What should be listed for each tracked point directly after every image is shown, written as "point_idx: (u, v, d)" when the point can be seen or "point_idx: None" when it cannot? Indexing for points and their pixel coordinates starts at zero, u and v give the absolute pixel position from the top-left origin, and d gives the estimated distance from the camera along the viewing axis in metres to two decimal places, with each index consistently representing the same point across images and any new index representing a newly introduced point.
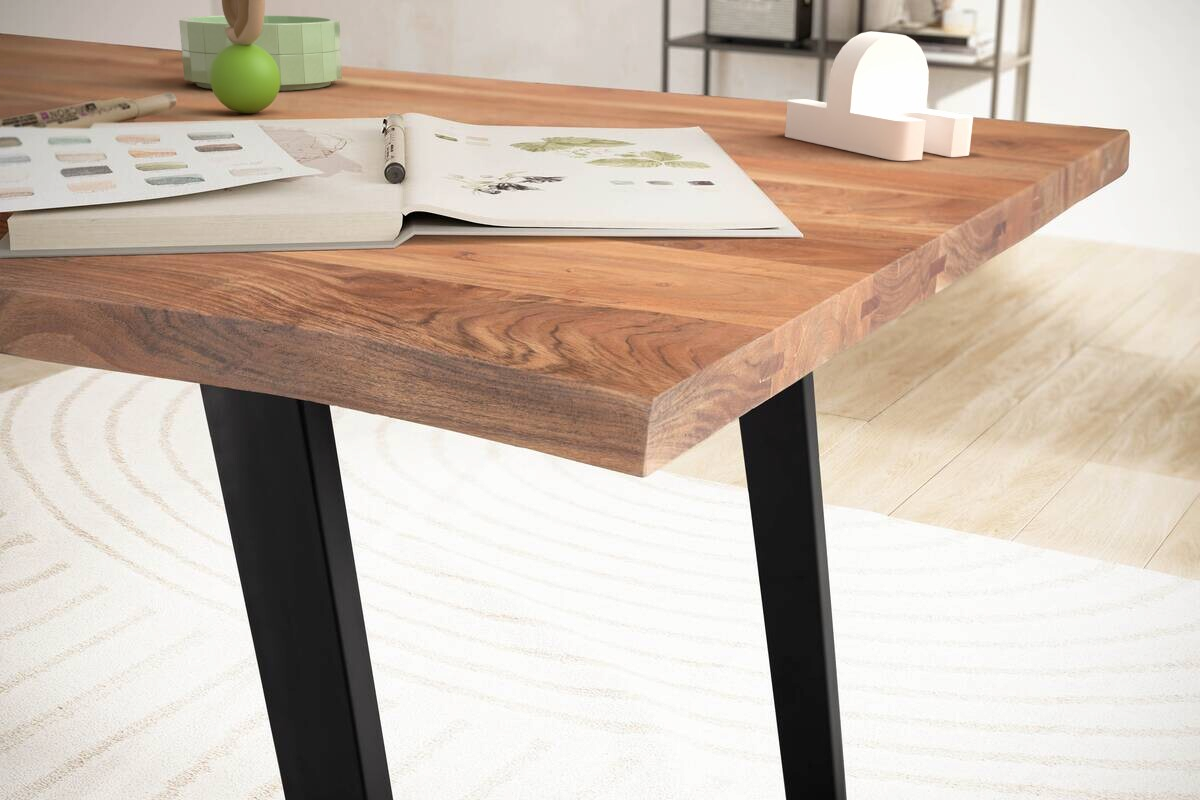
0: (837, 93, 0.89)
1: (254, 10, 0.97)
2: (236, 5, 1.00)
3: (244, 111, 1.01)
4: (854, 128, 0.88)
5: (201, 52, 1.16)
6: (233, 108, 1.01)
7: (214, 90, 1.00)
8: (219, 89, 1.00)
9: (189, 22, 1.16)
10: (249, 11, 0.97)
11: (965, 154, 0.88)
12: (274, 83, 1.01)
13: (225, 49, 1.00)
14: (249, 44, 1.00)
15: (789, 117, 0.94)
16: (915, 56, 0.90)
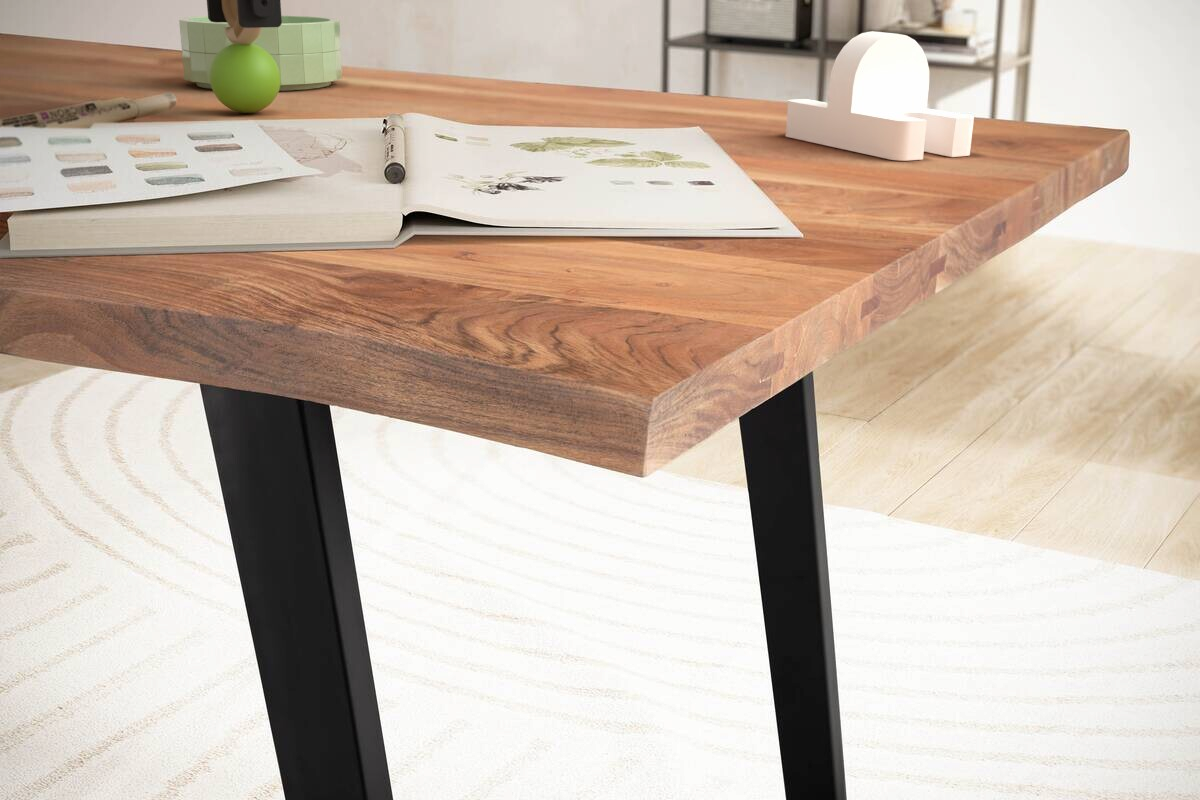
0: (838, 93, 0.89)
1: None
2: (236, 5, 1.00)
3: (245, 111, 1.01)
4: (855, 128, 0.88)
5: (201, 52, 1.16)
6: (233, 108, 1.01)
7: (214, 90, 1.00)
8: (219, 89, 1.00)
9: (189, 22, 1.16)
10: None
11: (966, 154, 0.88)
12: (274, 82, 1.01)
13: (225, 49, 1.00)
14: (249, 43, 1.00)
15: (790, 117, 0.94)
16: (916, 56, 0.90)
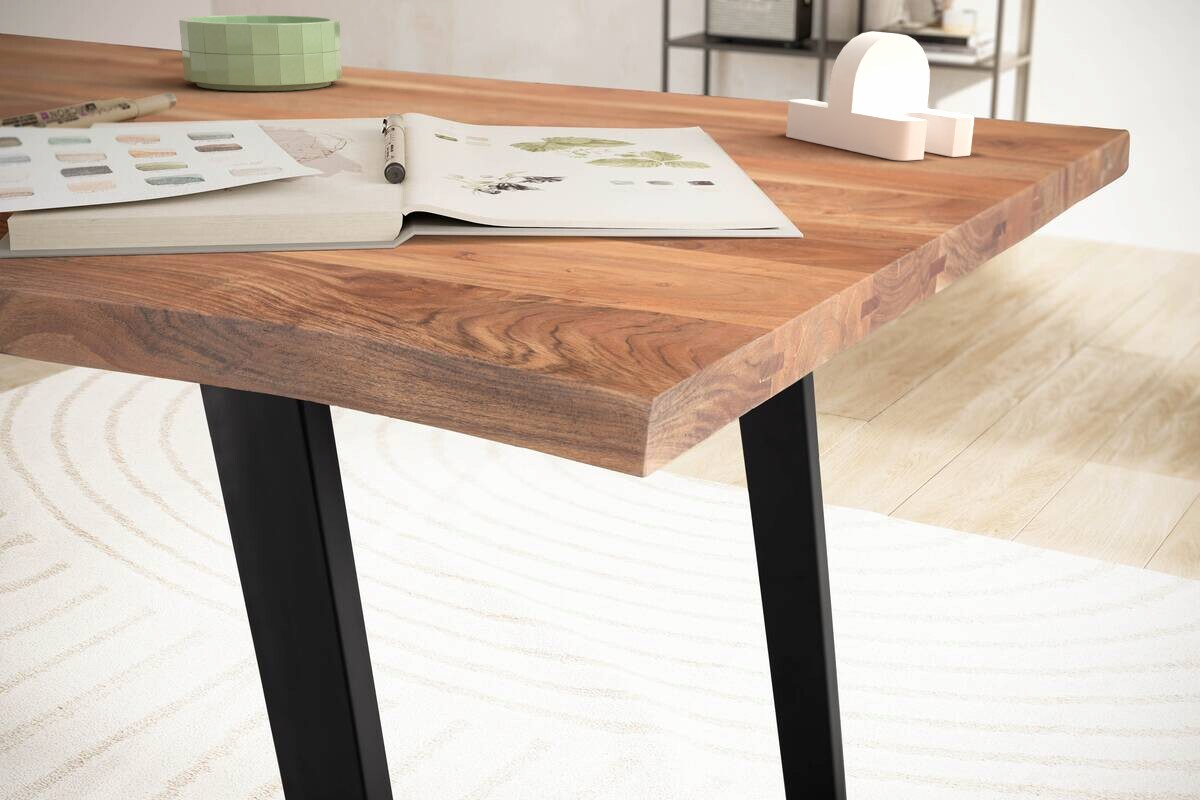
0: (839, 93, 0.89)
1: None
2: None
3: None
4: (856, 128, 0.88)
5: (201, 52, 1.16)
6: None
7: None
8: None
9: (189, 22, 1.16)
10: None
11: (966, 154, 0.88)
12: None
13: None
14: None
15: (790, 117, 0.94)
16: (916, 56, 0.90)
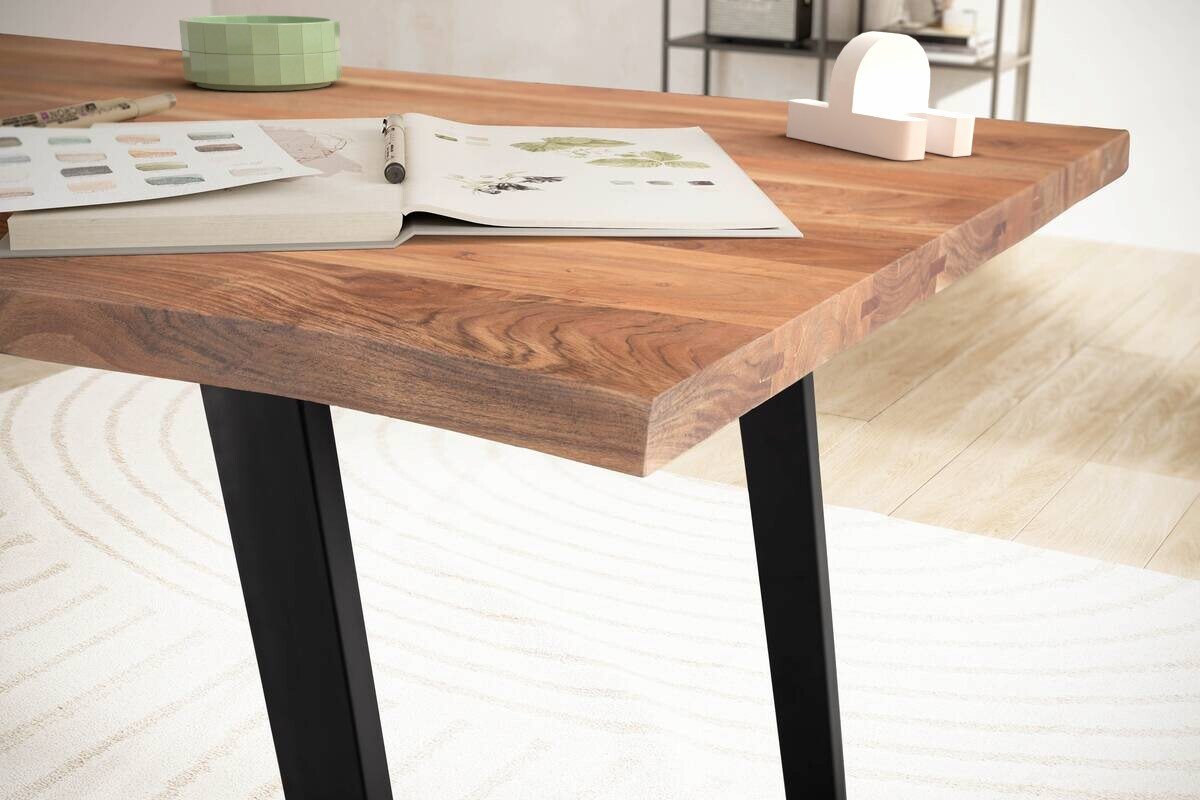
0: (839, 93, 0.89)
1: None
2: None
3: None
4: (857, 128, 0.88)
5: (201, 52, 1.16)
6: None
7: None
8: None
9: (189, 22, 1.16)
10: None
11: (967, 154, 0.88)
12: None
13: None
14: None
15: (791, 117, 0.94)
16: (917, 56, 0.90)
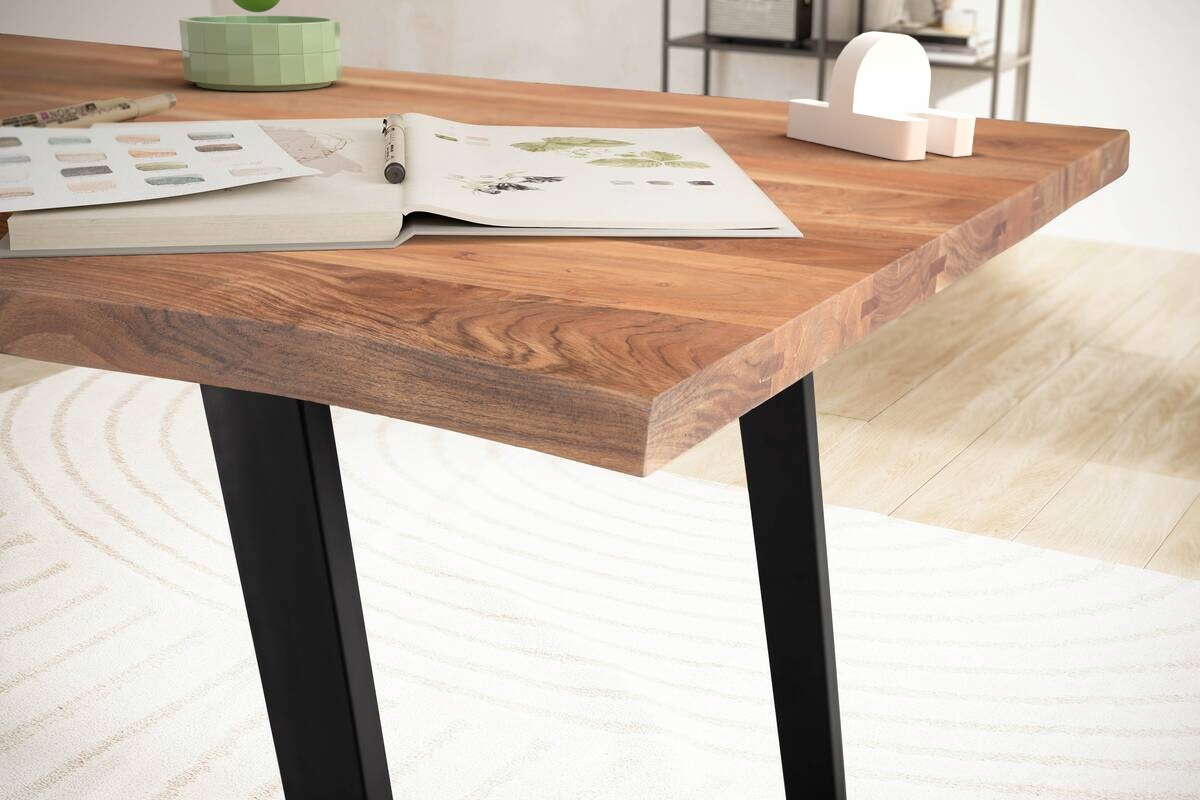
0: (840, 93, 0.89)
1: None
2: None
3: (254, 9, 1.20)
4: (857, 128, 0.88)
5: (201, 52, 1.16)
6: (245, 6, 1.20)
7: None
8: None
9: (189, 22, 1.16)
10: None
11: (967, 154, 0.88)
12: None
13: None
14: None
15: (791, 117, 0.94)
16: (917, 56, 0.90)
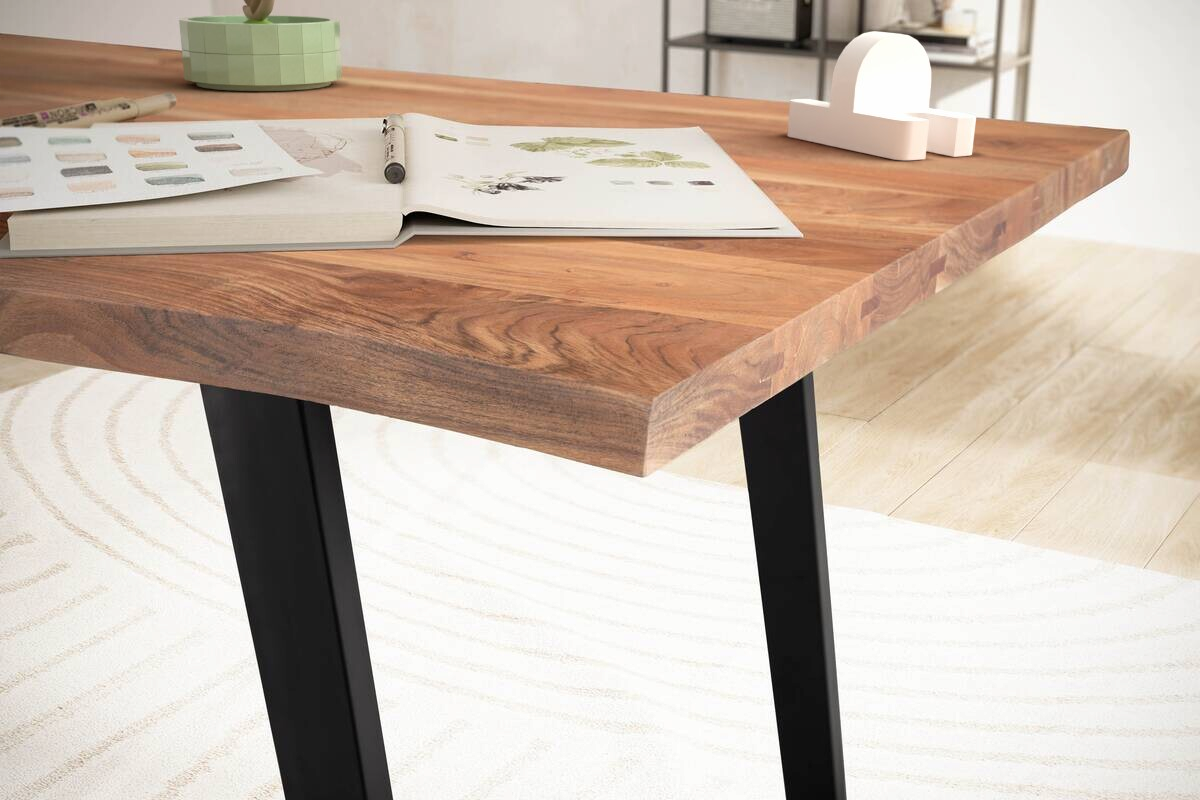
0: (841, 93, 0.89)
1: None
2: None
3: None
4: (858, 127, 0.88)
5: (201, 52, 1.16)
6: None
7: None
8: None
9: (189, 22, 1.16)
10: None
11: (968, 154, 0.88)
12: None
13: None
14: (262, 19, 1.21)
15: (792, 117, 0.94)
16: (918, 56, 0.90)
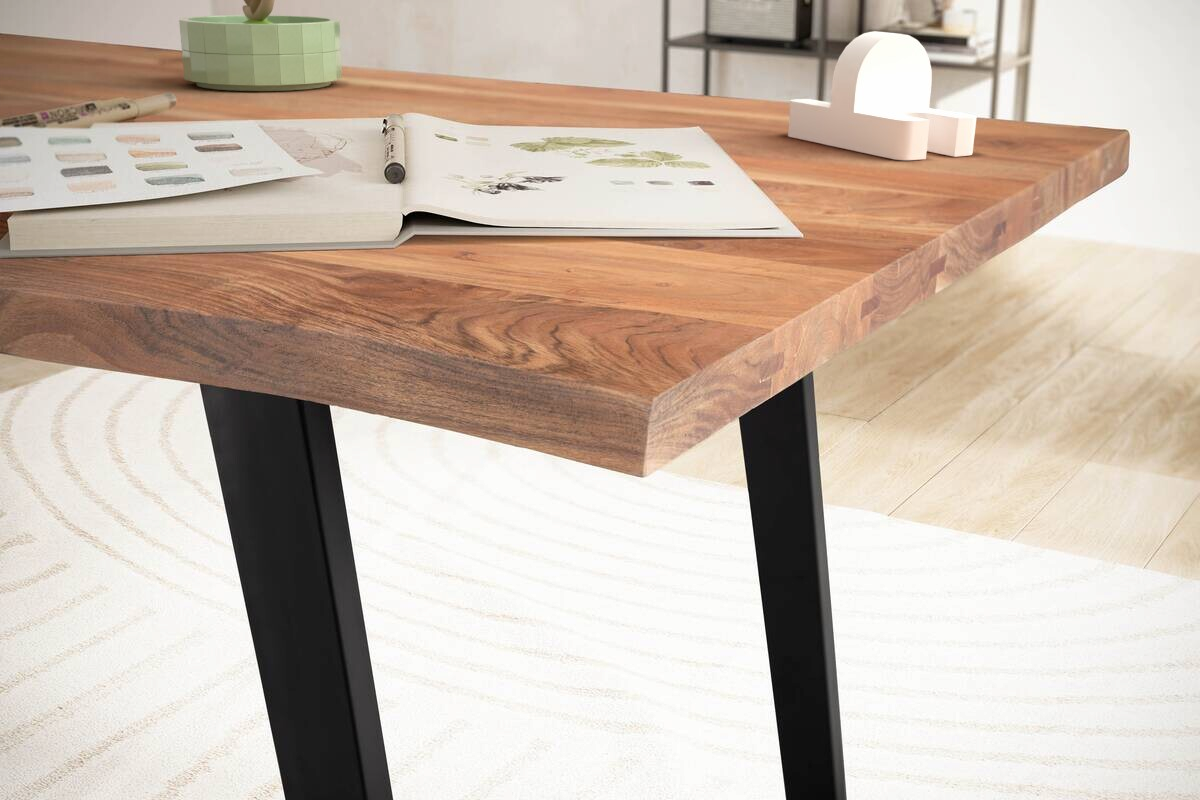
0: (841, 93, 0.89)
1: None
2: None
3: None
4: (858, 128, 0.88)
5: (201, 52, 1.16)
6: None
7: None
8: None
9: (189, 22, 1.16)
10: None
11: (968, 153, 0.88)
12: None
13: None
14: (262, 19, 1.21)
15: (792, 117, 0.94)
16: (918, 56, 0.90)
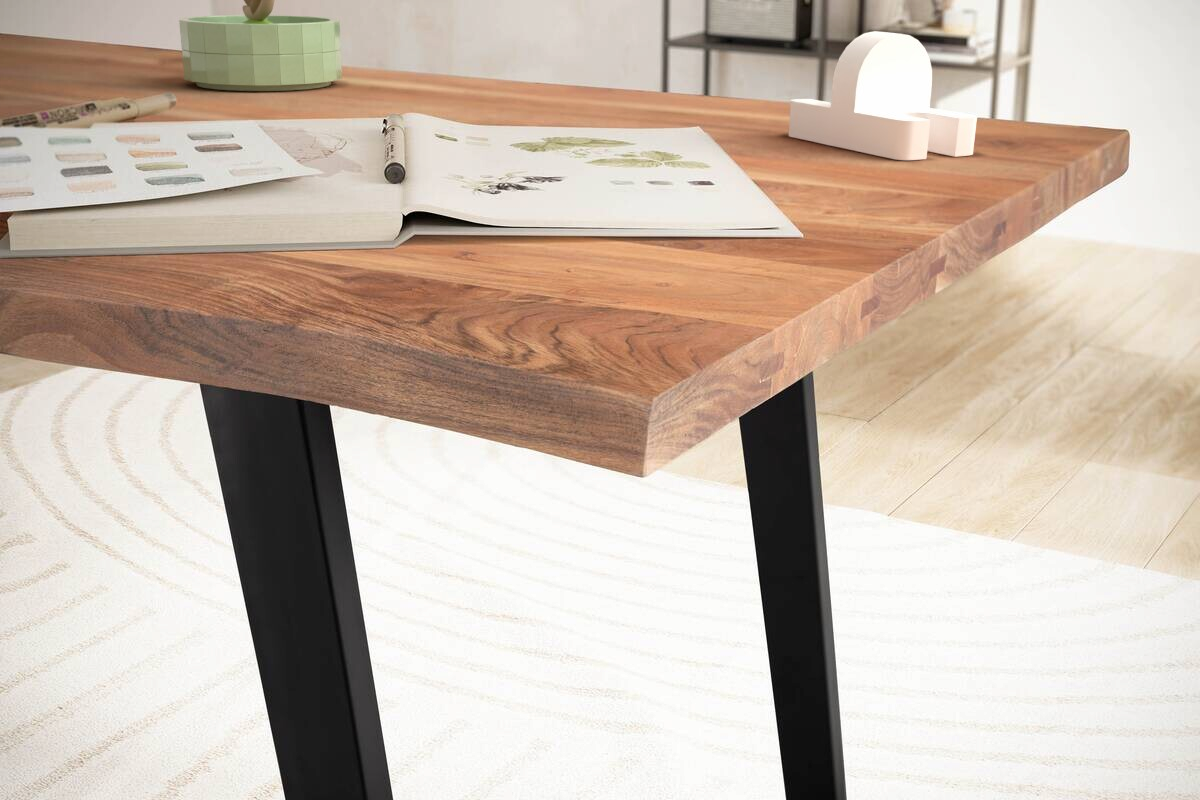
0: (842, 93, 0.89)
1: None
2: None
3: None
4: (859, 128, 0.88)
5: (201, 52, 1.16)
6: None
7: None
8: None
9: (189, 22, 1.16)
10: None
11: (969, 154, 0.88)
12: None
13: None
14: (262, 19, 1.21)
15: (793, 117, 0.95)
16: (919, 56, 0.90)
